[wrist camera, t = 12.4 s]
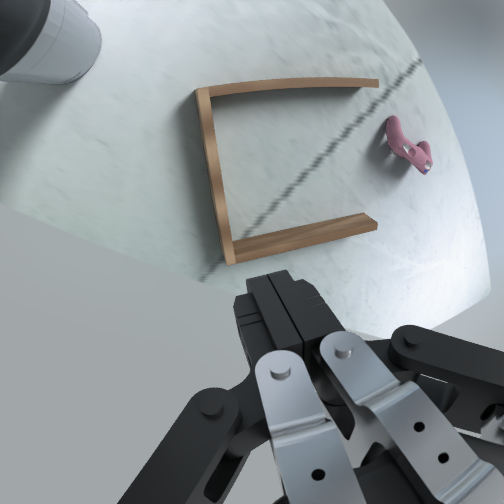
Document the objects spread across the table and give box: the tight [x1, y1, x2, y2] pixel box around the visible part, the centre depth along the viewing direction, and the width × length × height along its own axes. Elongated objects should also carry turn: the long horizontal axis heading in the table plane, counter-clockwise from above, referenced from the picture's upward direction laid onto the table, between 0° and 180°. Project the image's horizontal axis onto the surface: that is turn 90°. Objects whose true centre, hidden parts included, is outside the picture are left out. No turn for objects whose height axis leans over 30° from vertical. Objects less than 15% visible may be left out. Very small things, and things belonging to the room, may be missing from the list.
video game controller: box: [386, 116, 433, 175], centre depth 40 cm, size 10×5×7 cm, turn 66°
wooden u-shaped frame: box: [195, 77, 379, 266], centre depth 38 cm, size 22×23×4 cm
